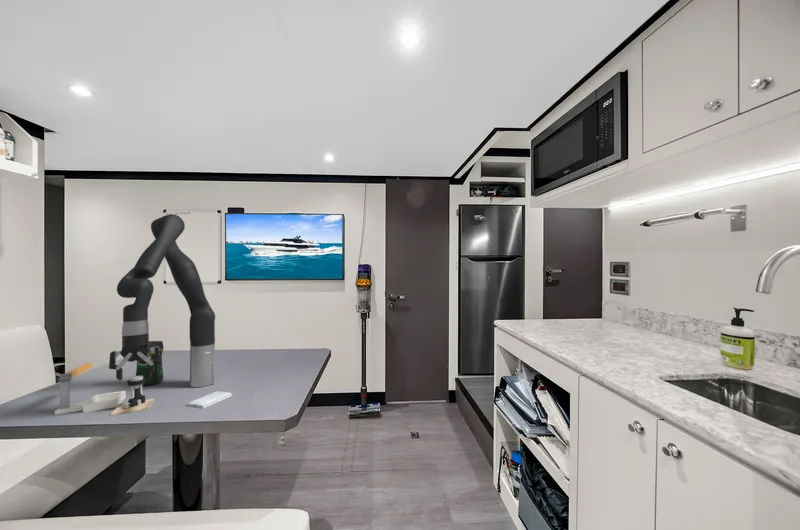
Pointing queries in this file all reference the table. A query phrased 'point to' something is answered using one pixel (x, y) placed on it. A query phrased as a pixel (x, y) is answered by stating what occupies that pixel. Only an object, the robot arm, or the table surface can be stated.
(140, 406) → the wood pad
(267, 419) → the table surface
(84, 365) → the bar
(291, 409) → the table surface
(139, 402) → the push button
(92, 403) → the socket housing
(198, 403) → the hard drive
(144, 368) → the coffee jar
